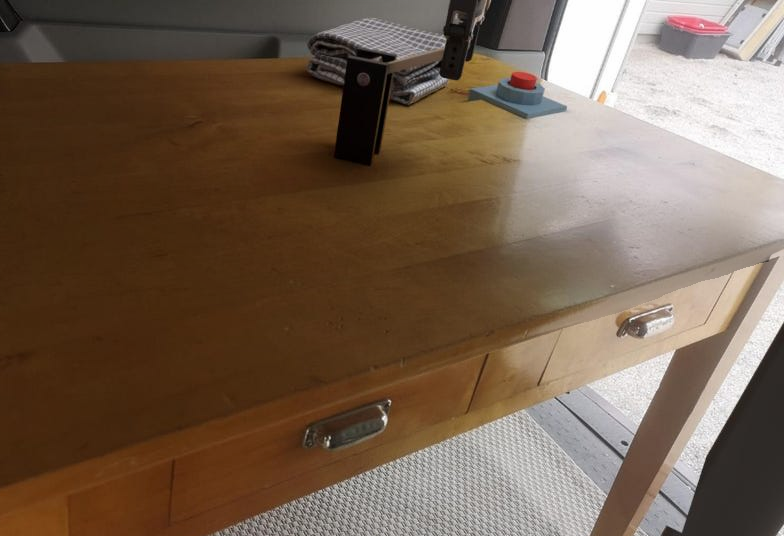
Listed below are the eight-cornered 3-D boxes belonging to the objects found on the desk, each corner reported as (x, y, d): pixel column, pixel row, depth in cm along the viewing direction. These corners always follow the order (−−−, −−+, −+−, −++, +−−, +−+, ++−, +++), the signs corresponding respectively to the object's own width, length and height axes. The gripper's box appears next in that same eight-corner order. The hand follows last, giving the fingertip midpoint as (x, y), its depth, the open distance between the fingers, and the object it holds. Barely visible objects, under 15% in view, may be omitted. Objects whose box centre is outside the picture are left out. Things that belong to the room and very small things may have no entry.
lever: (472, 53, 82) (468, 30, 81) (466, 64, 78) (461, 40, 77) (366, 80, 87) (361, 59, 86) (355, 92, 83) (349, 70, 82)
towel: (351, 59, 126) (358, 9, 122) (452, 88, 119) (463, 36, 114) (301, 77, 116) (306, 23, 111) (407, 111, 108) (418, 54, 104)
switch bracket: (412, 164, 92) (434, 56, 85) (396, 192, 85) (418, 77, 78) (318, 142, 95) (331, 36, 87) (295, 168, 88) (307, 54, 80)
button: (538, 90, 111) (542, 78, 110) (522, 93, 109) (526, 80, 108) (519, 82, 113) (522, 70, 112) (503, 85, 111) (506, 72, 110)
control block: (563, 120, 112) (571, 93, 110) (523, 129, 107) (531, 101, 105) (506, 96, 119) (513, 70, 117) (466, 103, 114) (473, 76, 112)
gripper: (529, -97, 65) (482, 94, 74) (540, -108, 76) (498, 59, 86) (442, -111, 66) (407, 79, 76) (466, -120, 78) (433, 46, 87)
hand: (455, 68), depth 81 cm, fingers open, 7 cm apart
